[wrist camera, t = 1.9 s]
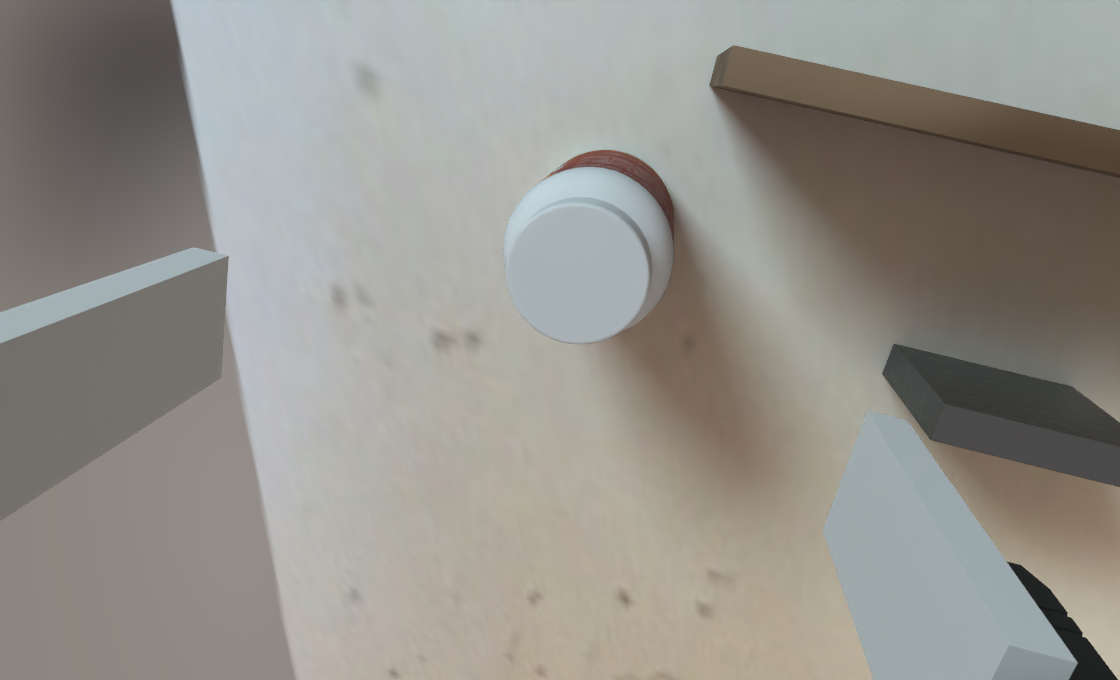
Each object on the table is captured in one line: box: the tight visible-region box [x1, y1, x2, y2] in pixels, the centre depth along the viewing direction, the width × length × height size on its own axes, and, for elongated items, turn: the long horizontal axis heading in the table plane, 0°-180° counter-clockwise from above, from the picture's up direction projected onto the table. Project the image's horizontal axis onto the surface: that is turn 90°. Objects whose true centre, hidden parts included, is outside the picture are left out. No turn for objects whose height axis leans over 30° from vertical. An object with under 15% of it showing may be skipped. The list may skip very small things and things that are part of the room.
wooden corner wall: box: [710, 45, 1120, 177], centre depth 29 cm, size 12×26×9 cm, turn 78°
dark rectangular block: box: [883, 344, 1120, 487], centre depth 31 cm, size 2×8×7 cm, turn 78°
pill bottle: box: [503, 150, 674, 344], centre depth 30 cm, size 6×6×11 cm
